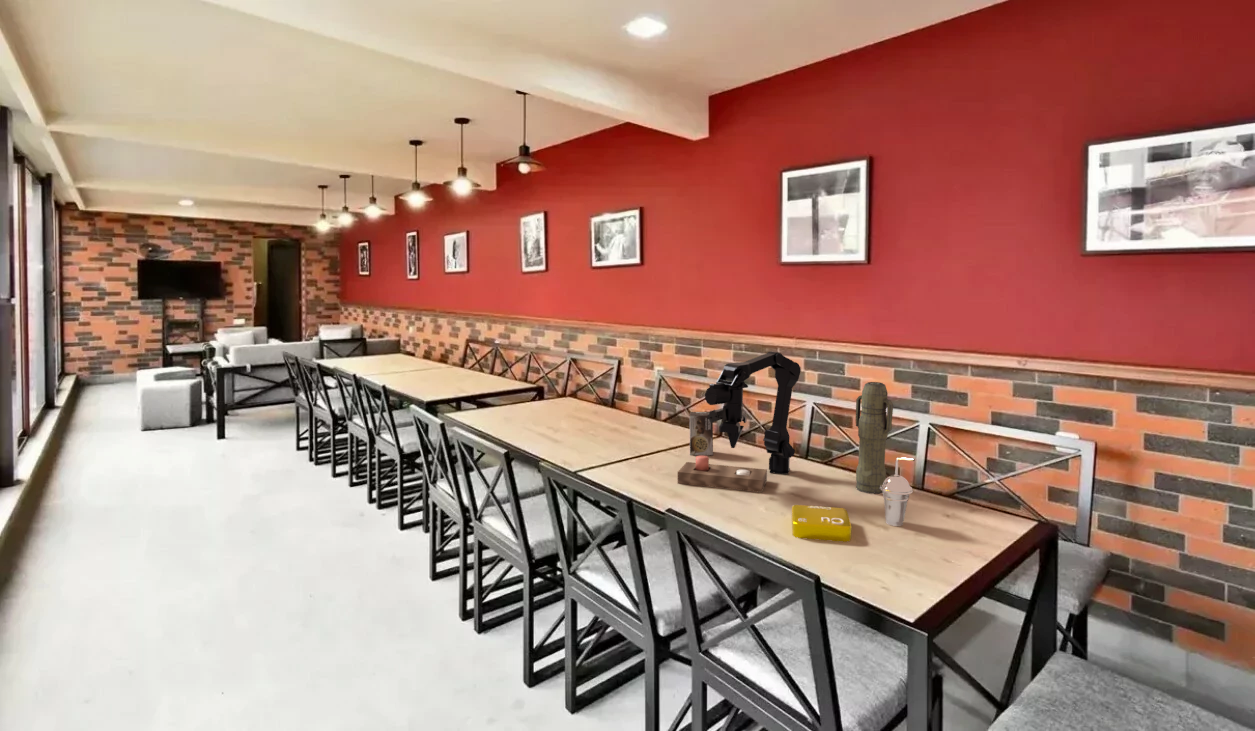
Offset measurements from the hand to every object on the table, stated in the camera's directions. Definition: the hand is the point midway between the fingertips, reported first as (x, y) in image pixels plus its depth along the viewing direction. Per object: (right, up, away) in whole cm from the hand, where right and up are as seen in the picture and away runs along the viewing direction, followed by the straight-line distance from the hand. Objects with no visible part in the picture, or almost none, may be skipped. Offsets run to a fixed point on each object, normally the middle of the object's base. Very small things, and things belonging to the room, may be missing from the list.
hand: (732, 447), depth 211 cm
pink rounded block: (-10, -8, +5) cm, 14 cm away
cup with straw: (+40, -17, -33) cm, 55 cm away
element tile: (+18, -18, -37) cm, 45 cm away
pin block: (-3, -12, +3) cm, 13 cm away
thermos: (+44, -13, -5) cm, 46 cm away
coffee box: (-6, -7, +38) cm, 39 cm away
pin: (+4, -12, +1) cm, 13 cm away
